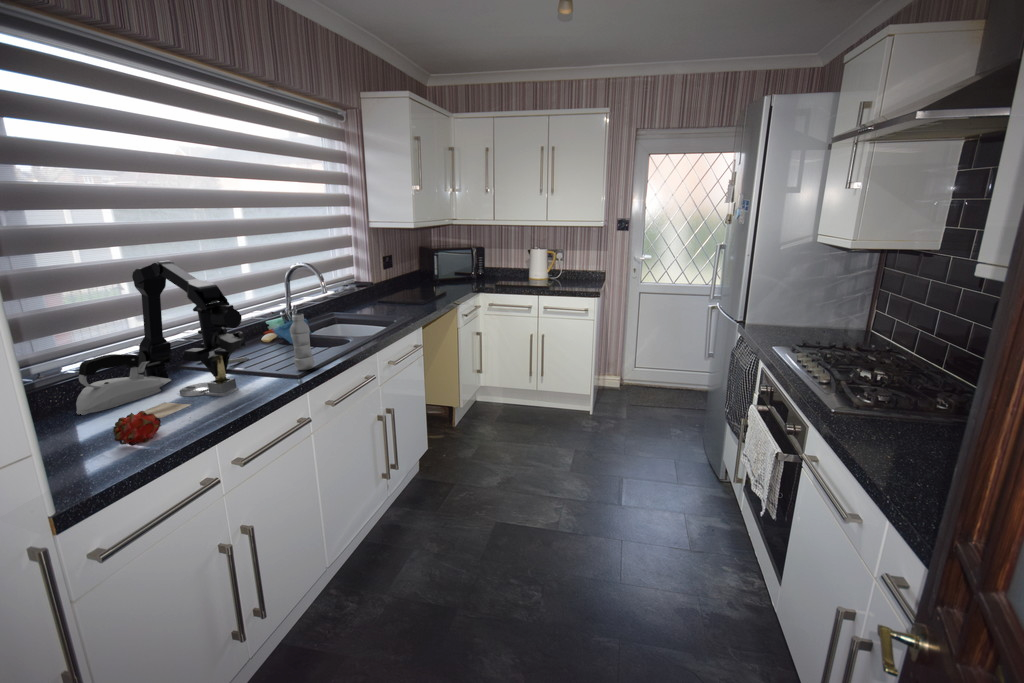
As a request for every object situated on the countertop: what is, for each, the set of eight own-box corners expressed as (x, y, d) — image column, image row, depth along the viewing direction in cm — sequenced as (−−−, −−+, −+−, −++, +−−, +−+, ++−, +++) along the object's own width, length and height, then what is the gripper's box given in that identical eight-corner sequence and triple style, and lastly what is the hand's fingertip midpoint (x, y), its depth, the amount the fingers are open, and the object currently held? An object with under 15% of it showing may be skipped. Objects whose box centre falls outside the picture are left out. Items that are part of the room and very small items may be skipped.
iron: (174, 390, 168) (165, 346, 164) (90, 418, 146) (77, 368, 142) (153, 386, 172) (143, 343, 168) (68, 413, 151) (55, 364, 147)
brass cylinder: (214, 388, 161) (209, 357, 158) (222, 384, 164) (216, 354, 161) (222, 388, 160) (217, 357, 158) (230, 385, 163) (224, 354, 160)
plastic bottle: (309, 372, 182) (301, 316, 176) (291, 372, 183) (283, 316, 178) (318, 367, 188) (311, 312, 183) (301, 366, 189) (294, 312, 184)
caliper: (216, 376, 181) (213, 359, 180) (213, 376, 182) (210, 359, 180) (249, 359, 201) (246, 344, 199) (246, 359, 201) (243, 344, 200)
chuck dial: (171, 396, 161) (168, 383, 160) (200, 384, 171) (198, 372, 170) (217, 400, 157) (215, 387, 156) (244, 387, 167) (242, 375, 166)
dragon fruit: (113, 459, 124) (160, 444, 136) (134, 441, 122) (179, 427, 134) (96, 429, 125) (143, 417, 137) (115, 411, 123) (162, 400, 134)
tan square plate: (133, 417, 146) (133, 415, 146) (165, 404, 155) (164, 402, 155) (161, 419, 143) (161, 417, 143) (191, 406, 153) (191, 404, 152)
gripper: (208, 334, 146) (217, 386, 150) (255, 320, 164) (263, 367, 168) (176, 332, 149) (186, 384, 153) (226, 319, 167) (234, 365, 171)
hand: (220, 374), depth 161 cm, fingers closed on brass cylinder, 3 cm apart
